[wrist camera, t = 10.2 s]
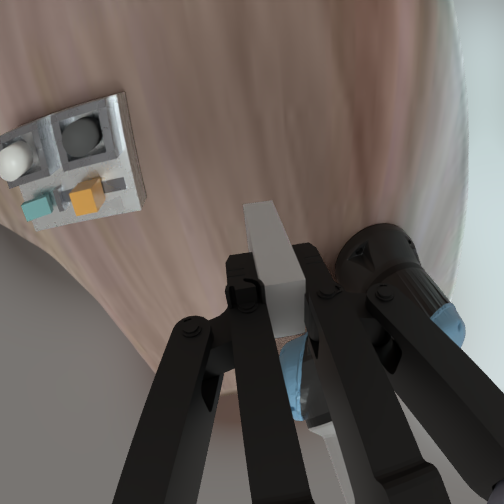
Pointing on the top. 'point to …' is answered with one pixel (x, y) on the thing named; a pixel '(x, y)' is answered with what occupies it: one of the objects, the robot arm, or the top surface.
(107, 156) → the panel
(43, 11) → the top surface
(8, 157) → the button
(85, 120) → the button
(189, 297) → the top surface
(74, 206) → the slider knob
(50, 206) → the teal rectangular block
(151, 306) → the top surface
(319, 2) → the top surface
